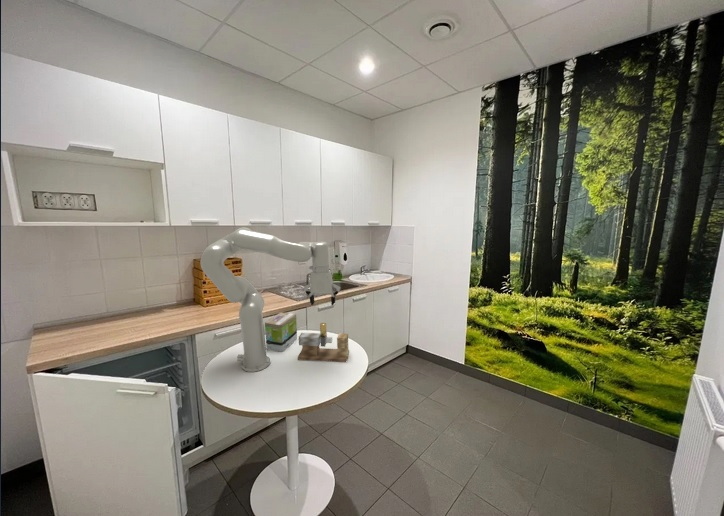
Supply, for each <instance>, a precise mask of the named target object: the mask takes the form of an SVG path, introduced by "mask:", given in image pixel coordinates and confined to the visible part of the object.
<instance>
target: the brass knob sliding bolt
mask: <svg viewBox="0 0 724 516" xmlns="http://www.w3.org/2000/svg"><path fill="white" fill-rule="evenodd" d="M319 330H320V331H319V333H320V337H319V343H320V347H326V345H327V344H332V343H333V337H332V336H327V335H328V332H327V323H326V322H320V324H319Z"/></svg>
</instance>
